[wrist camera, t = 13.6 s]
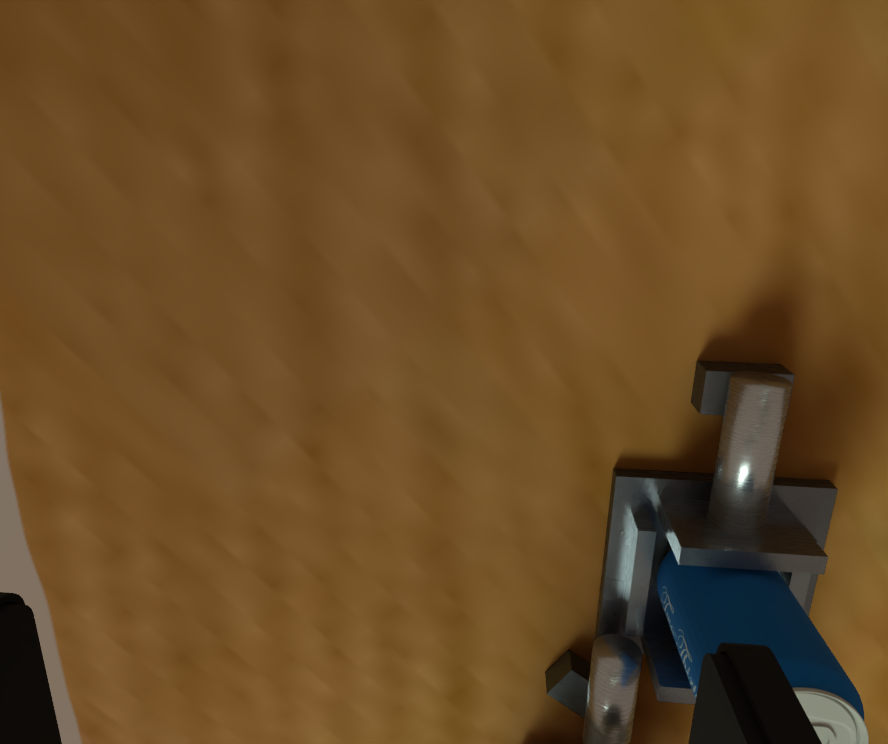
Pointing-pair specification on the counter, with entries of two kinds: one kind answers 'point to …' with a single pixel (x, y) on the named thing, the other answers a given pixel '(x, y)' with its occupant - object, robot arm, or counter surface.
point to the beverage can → (760, 638)
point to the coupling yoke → (694, 544)
